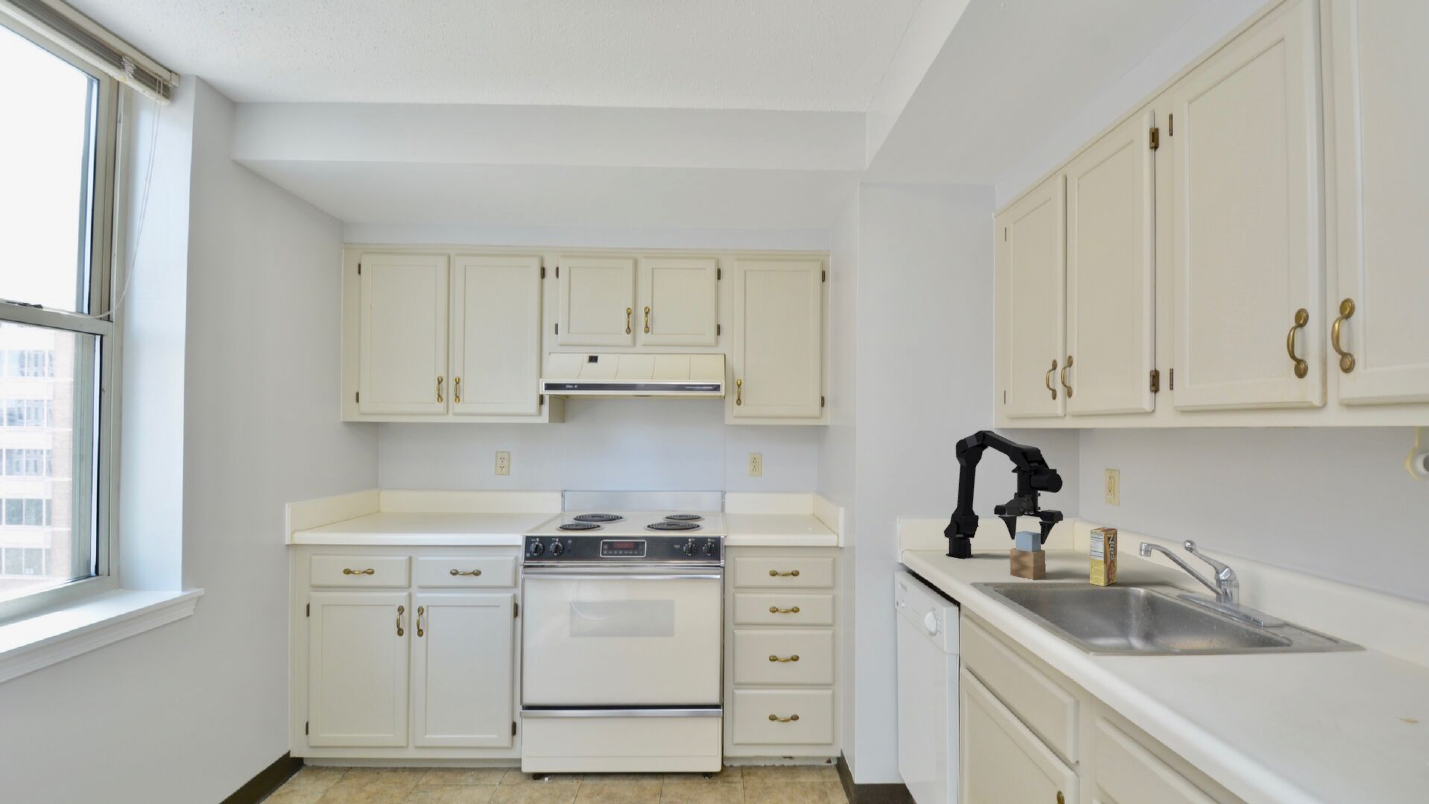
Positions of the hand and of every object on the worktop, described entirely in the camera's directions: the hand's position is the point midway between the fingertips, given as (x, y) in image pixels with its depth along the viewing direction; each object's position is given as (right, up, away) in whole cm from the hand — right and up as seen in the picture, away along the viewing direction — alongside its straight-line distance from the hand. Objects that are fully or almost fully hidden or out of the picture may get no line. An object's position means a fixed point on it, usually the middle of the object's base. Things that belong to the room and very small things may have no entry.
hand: (1027, 541), depth 204 cm
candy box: (+18, -10, -8) cm, 22 cm away
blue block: (0, -2, 0) cm, 2 cm away
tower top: (0, -6, 0) cm, 6 cm away
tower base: (0, -10, 0) cm, 10 cm away
